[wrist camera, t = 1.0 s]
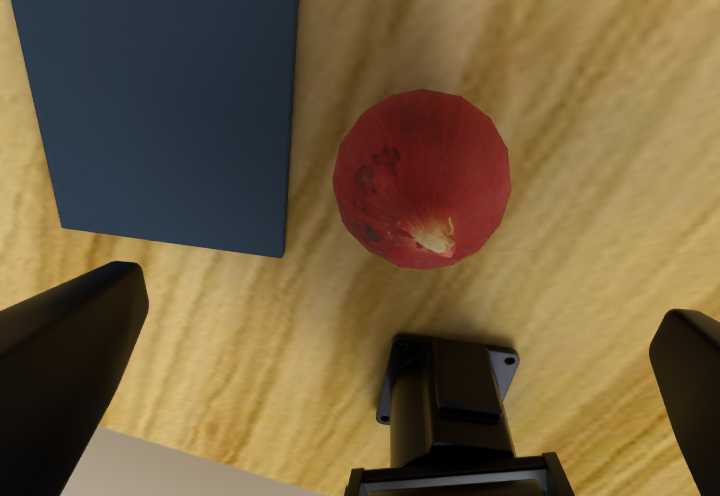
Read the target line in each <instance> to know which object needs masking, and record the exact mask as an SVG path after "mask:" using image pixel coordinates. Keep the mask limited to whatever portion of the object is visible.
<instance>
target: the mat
mask: <svg viewBox="0 0 720 496" xmlns="http://www.w3.org/2000/svg"><path fill="white" fill-rule="evenodd" d="M11 3H12V7H13V12H14V16H15V21H16V25H17V29H18V34H19V38H20V43H21V47H22V52H23V56H24V61H25V65H26V70H27V74H28V79H29V83H30V88H31V92H32V97H33V101H34V105H35V110H36V114H37V119H38V123H39V128H40V132H41V137H42V141H43V146H44V150H45V155H46V159H47V164H48V168H49V173H50V177H51V182H52V186H53V190H54V195H55V199H56V204H57V208H58V213H59V217H60V222H61V226H62V228H66V229H73V230H80V231H87V232H95V233H102V234H109V235H116V236H123V237H131V238H138V239H145V240H152V241H160V242H167V243H174V244H181V245H189V246H196V247H203V248H210V249H217V250H225V251H232V252H239V253H246V254H254V255H261V256H268V257H275V258H282V257H283V254H284V251H285V234H286V216H287V198H288V180H289V163H290V145H291V127H292V109H293V91H294V74H295V56H296V38H297V20H298V3H299V0H11Z"/></svg>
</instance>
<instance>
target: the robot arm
mask: <svg viewBox="0 0 720 496" xmlns="http://www.w3.org/2000/svg"><path fill="white" fill-rule="evenodd" d="M148 309H149V300H148V295H147V290H146V285H145V280H144V276H143V271H142V268H141V266H140V265H139V264H137V263H134V262H123V261H113V262H110V263H108V264H106V265H103V266H101V267H99V268H97V269H94V270H92V271H90V272H88V273H85V274H83V275H81V276H79V277H76V278H74V279H72V280H69V281H67V282H65V283H63V284H60V285H58V286H56V287H54V288H51V289H49V290H47V291H45V292H42V293H40V294H38V295H36V296H33V297H31V298H29V299H27V300H24V301H22V302H20V303H18V304H15V305H13V306H11V307H9V308H6V309H4V310H2V311H0V496H60V495H61V493H62V491H63V489H64V487H65V486H66V484H67V482H68V480H69V478H70V476H71V474H72V472H73V471H74V469H75V467H76V465H77V463H78V461H79V460H80V458H81V456H82V454H83V452H84V450H85V448H86V446H87V445H88V443H89V441H90V439H91V437H92V436H93V434H94V432H95V430H96V428H97V426H98V424H99V423H100V421H101V419H102V417H103V415H104V413H105V412H106V410H107V408H108V406H109V404H110V402H111V400H112V398H113V396H114V394H115V392H116V390H117V388H118V386H119V383H120V381H121V379H122V376H123V374H124V371H125V369H126V367H127V364H128V362H129V359H130V357H131V354H132V352H133V349H134V347H135V344H136V342H137V339H138V337H139V334H140V332H141V329H142V327H143V324H144V322H145V319H146V317H147V314H148ZM399 343H405V344H404V345H400V344H399ZM508 357H512V358H510V359H506V358H508ZM649 357H650V361H651V364H652V367H653V371H654V374H655V377H656V380H657V383H658V386H659V389H660V392H661V395H662V398H663V401H664V404H665V407H666V410H667V413H668V416H669V419H670V423H671V426H672V428H673V431H674V434H675V437H676V439H677V442H678V444H679V447H680V449H681V452H682V454H683V456H684V459H685V461H686V463H687V465H688V467H689V470H690V472H691V474H692V476H693V479H694V481H695V483H696V485H697V488H698V490H699V492H700V494H701V496H720V322H718V321H716V320H714V319H712V318H711V317H709V316H707V315H705V314H703V313H702V312H699V311H696V310H686V309H672V310H670V311H668V312H667V313H666V314H665V316H664V318H663V320H662V322H661V324H660V326H659V328H658V330H657V332H656V334H655V336H654V338H653V340H652V342H651V344H650V348H649ZM519 361H520V359H519V356H518V353H517V351H516V350H515V349H512V348H505V347H498V346H491V345H483V344H476V343H469V342H461V341H454V340H446V339H439V338H432V337H424V336H417V335H410V334H397V335H395V336H394V337H393V339H392V343H391V347H390V352H389V356H388V361H387V365H386V370H385V374H384V379H383V384H382V388H381V393H380V397H379V402H378V406H377V411H376V420H377V421H378V422H379V423H380V424H385V425H390V468H382V469H370V470H365V469H364V468H356V469H352V470H351V475H350V479H349V484H348V486H346V489H345V493H344V496H575V495H574V493H573V490H572V488H571V486H570V484H569V481H568V479H567V477H566V475H565V472H564V470H563V468H562V466H561V463H560V461H559V459H558V457H557V455H556V452H548V453H542V455H539V456H527V457H516V453H515V449H514V445H513V441H512V437H511V433H510V429H509V425H508V421H507V417H506V414H505V410H504V406H503V400H504V398H505V395H506V393H507V391H508V388H509V386H510V383H511V381H512V379H513V376H514V374H515V371H516V369H517V367H518V364H519Z"/></svg>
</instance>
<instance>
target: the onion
mask: <svg viewBox="0 0 720 496" xmlns="http://www.w3.org/2000/svg"><path fill="white" fill-rule="evenodd" d="M333 186H334V192H335V195H336V199H337V203H338V207H339V211H340V214H341V218H342V222H343V223H344V225H345V227H346V228H347V230H348V231H349V232H350V233H351V234H352V235H353V236H354V237H355V238H356V239H357V240H358V241H359V242H360V243H361V244H362V245H363V246H364V247H365V248H366V249H367V250H368V251H370V252H372V253H374V254H376V255H378V256H380V257H382V258H384V259H386V260H388V261H390V262H392V263H393V264H395V265H397V266H399V267H403V268H414V269H422V270H429V269H434V268H438V267H443V266H448V265H452V264H454V263H456V262H458V261H460V260H462V259H464V258H466V257H468V256H470V255H472V254H474V253H476V252H477V251H478V250H480V249H481V247H482V246H483V245H484V244H485V242H486V241H487V240H488V239H489V237H490V236H491V235H492V234H493V233H494V231H495V230H496V229H497V228H498V226H499V225H500V223H501V220H502V218H503V215H504V212H505V208H506V205H507V202H508V199H509V196H510V193H511V181H510V170H509V160H508V149H507V147H506V145H505V144H504V142H503V140H502V138H501V136H500V135H499V133H498V131H497V129H496V127H495V125H494V124H493V122H492V120H491V118H489V117H488V116H487V115H485V114H484V113H483V112H481V111H480V110H479V109H477V108H476V107H475V106H473V105H472V104H471V103H469V102H468V101H467V100H465V99H464V98H463V97H461V96H456V95H451V94H446V93H441V92H436V91H431V90H426V89H421V90H415V91H410V92H404V93H399V94H393V95H391V96H389V97H388V98H386V99H384V100H383V101H381V102H379V103H378V104H376V105H374V106H373V107H371V108H370V109H368V110H366V111H365V112H364V113H363V114H362V115H361V116H360V118H359V119H358V121H357V122H356V123H355V125H354V126H353V127H352V129H351V130H350V132H349V133H348V134H347V136H346V137H345V139H344V140H343V141H342V143H341V144H340V148H339V152H338V157H337V161H336V166H335V170H334V175H333Z"/></svg>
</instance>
